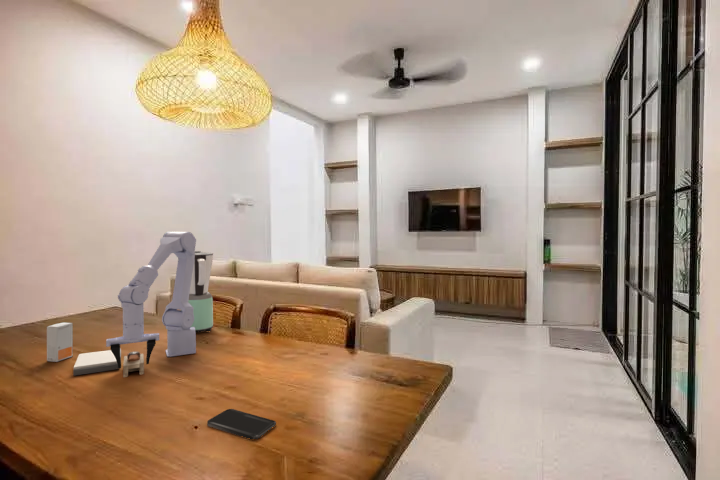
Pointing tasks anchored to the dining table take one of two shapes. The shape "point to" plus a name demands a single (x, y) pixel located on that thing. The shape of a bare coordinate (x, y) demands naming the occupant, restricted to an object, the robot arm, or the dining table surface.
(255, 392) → the dining table surface
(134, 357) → the drum
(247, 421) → the phone
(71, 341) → the skincare box
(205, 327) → the juicer
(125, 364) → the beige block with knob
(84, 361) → the dock
